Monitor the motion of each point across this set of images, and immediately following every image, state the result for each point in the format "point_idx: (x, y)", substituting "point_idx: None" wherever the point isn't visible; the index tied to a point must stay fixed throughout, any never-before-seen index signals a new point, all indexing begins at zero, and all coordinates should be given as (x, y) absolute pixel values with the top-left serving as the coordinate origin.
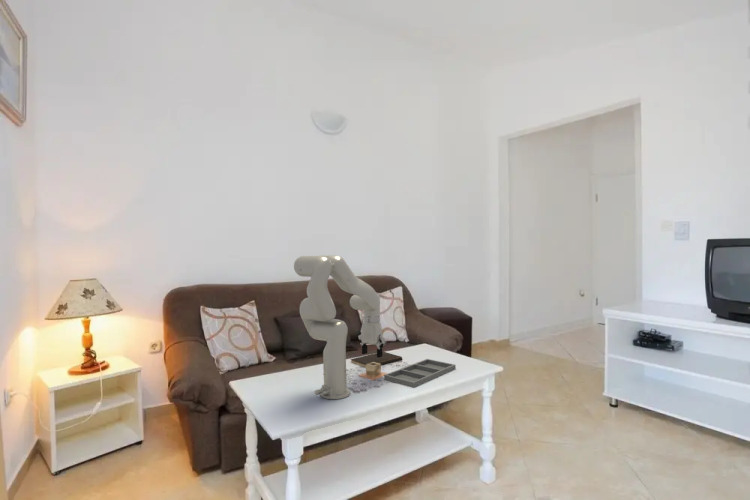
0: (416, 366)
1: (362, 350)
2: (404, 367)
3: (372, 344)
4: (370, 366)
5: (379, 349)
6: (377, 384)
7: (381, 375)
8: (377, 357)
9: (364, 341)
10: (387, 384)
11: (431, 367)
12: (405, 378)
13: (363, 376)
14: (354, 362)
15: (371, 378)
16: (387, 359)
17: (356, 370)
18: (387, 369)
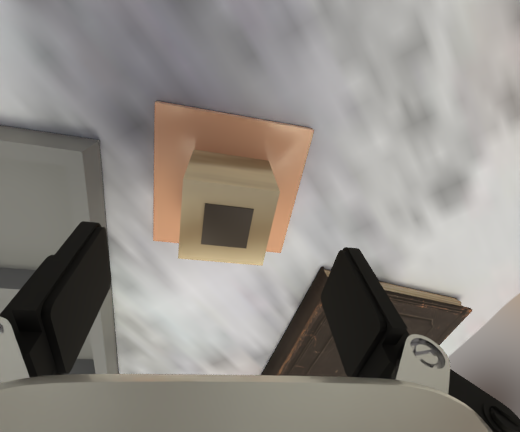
0: (87, 372)
1: (366, 276)
2: (100, 329)
3: (98, 374)
4: (224, 180)
5: (8, 322)
6: (67, 28)
7: (168, 197)
8: (96, 223)
9: (375, 411)
10: (6, 72)
11: None
12: (4, 228)
13: (267, 121)
14: (436, 297)
15: (184, 108)
16: None
17: (378, 215)
18: (225, 302)
